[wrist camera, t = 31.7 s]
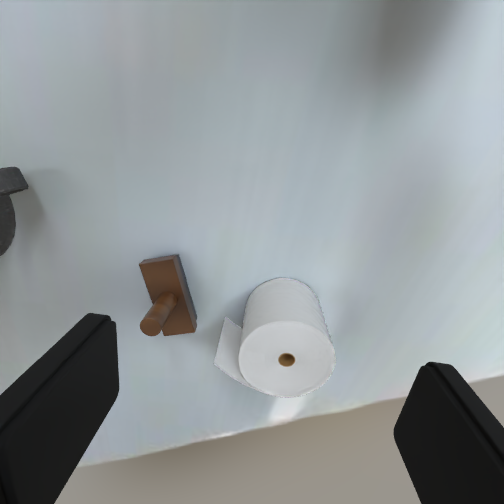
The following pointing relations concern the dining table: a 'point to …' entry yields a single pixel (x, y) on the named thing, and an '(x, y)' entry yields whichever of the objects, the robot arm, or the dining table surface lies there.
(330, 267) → the dining table surface
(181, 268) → the brush
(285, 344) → the toilet tissue
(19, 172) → the tankard
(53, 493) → the robot arm
